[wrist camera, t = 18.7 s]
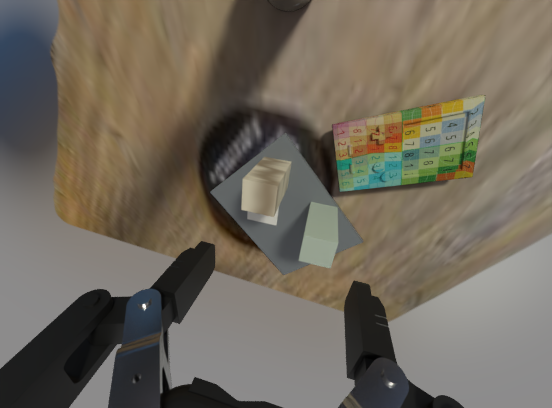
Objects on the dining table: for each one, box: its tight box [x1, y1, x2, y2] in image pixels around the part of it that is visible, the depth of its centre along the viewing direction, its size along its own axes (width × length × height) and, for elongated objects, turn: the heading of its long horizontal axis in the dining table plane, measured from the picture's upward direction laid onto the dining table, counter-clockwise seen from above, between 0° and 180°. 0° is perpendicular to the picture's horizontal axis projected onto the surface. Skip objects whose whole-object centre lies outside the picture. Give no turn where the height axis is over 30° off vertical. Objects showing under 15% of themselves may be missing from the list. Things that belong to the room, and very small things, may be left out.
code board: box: [210, 133, 363, 275], centre depth 49 cm, size 28×22×1 cm
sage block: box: [299, 202, 338, 268], centre depth 42 cm, size 6×6×12 cm
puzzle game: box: [332, 95, 485, 191], centre depth 36 cm, size 12×5×20 cm
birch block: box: [241, 157, 291, 217], centre depth 40 cm, size 6×6×12 cm
